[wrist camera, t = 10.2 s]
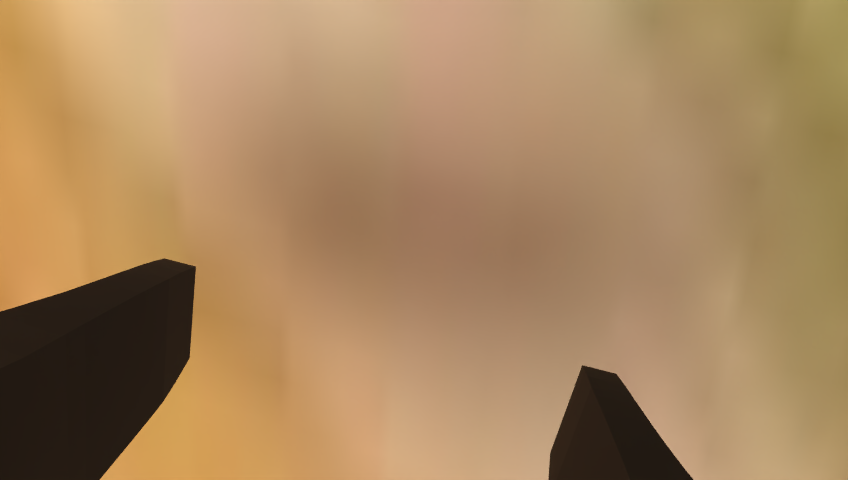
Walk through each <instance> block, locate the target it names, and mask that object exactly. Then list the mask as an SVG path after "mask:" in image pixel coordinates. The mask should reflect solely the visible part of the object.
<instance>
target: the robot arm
mask: <svg viewBox="0 0 848 480" xmlns="http://www.w3.org/2000/svg"><path fill="white" fill-rule="evenodd" d="M195 271H196V267H195V266H191V265H188V264H184V263H180V262H176V261H172V260H168V259H161V260H157V261H153V262H150V263H147V264H143V265H140V266H137V267H134V268H132V269H129V270H126V271H123V272H120V273H117V274H115V275H112V276H109V277H106V278H103V279H100V280H98V281H95V282H92V283H89V284H86V285H83V286H80V287H78V288H75V289H72V290H69V291H66V292H63V293H60V294H57V295H54V296H50V297H47V298H44V299H41V300H37V301H34V302H31V303H28V304H24V305H21V306H18V307H15V308H11V309H8V310H5V311H1V312H0V480H100V478H101V477H102V476H103V475H104V474H105V472H106V471H107V470H108V469H109V468H110V466H111V465H112V464H113V463H114V461H115V460H116V459H117V458H118V457H119V455H120V454H121V453H122V452H123V451H124V449H125V448H126V447H127V446H128V445H129V443H130V442H131V441H132V440H133V438H134V437H135V436H136V435H137V434H138V432H139V431H140V430H141V429H142V427H143V426H144V425H145V424H146V422H147V421H148V420H149V419H150V418H151V416H152V415H153V414H154V413H155V411H156V410H157V409H158V408H159V406H160V405H161V404H162V402H163V401H164V399H165V398H166V396H167V395H168V393H169V392H170V390H171V388H172V387H173V385H174V384H175V382H176V380H177V379H178V377H179V375H180V374H181V372H182V370H183V368H184V367H185V365H186V363H187V362H188V360H189V358H190V343H191V329H192V314H193V300H194V285H195ZM549 480H693V479H692V477H691V476H690V475H689V474H688V473H687V471H686V470H685V469H684V467H683V466H682V465H681V464H680V462H679V461H678V460H677V458H676V457H675V456H674V455H673V453H672V452H671V451H670V449H669V448H668V447H667V445H666V444H665V442H664V441H663V440H662V438H661V437H660V436H659V434H658V433H657V431H656V430H655V429H654V427H653V426H652V424H651V423H650V421H649V420H648V419H647V417H646V416H645V414H644V413H643V411H642V410H641V408H640V407H639V406H638V404H637V403H636V401H635V400H634V398H633V397H632V395H631V394H630V392H629V391H628V389H627V388H626V387H625V385H624V384H623V382H622V381H621V380H620V378H619V377H618V376H617V374H614V373H610V372H606V371H603V370H599V369H595V368H591V367H587V366H583V365H582V368H581V371H580V373H579V376H578V379H577V382H576V384H575V387H574V390H573V392H572V395H571V398H570V401H569V403H568V406H567V409H566V412H565V414H564V417H563V420H562V423H561V425H560V428H559V431H558V433H557V436H556V439H555V442H554V444H553V447H552V450H551V453H550V466H549Z"/></svg>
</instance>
